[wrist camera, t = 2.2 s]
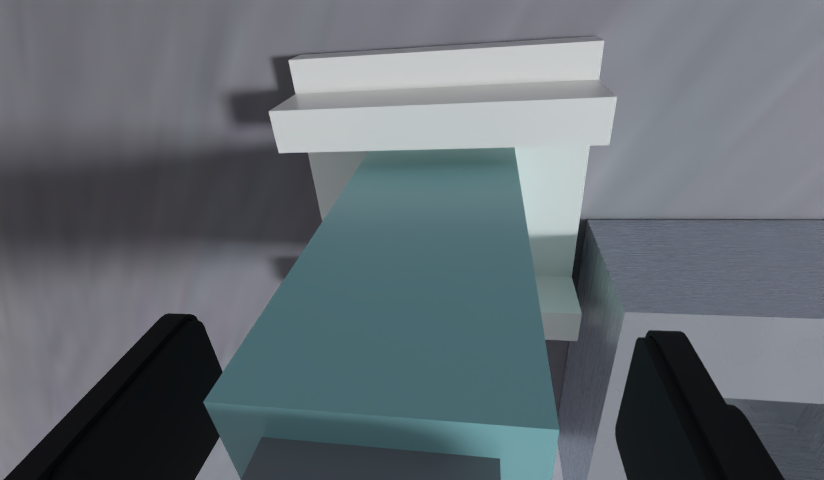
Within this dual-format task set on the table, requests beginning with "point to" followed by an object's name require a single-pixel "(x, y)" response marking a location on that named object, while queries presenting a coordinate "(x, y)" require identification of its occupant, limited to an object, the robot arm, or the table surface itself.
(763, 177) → the table surface
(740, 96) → the table surface
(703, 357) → the port
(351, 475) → the plug
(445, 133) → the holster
